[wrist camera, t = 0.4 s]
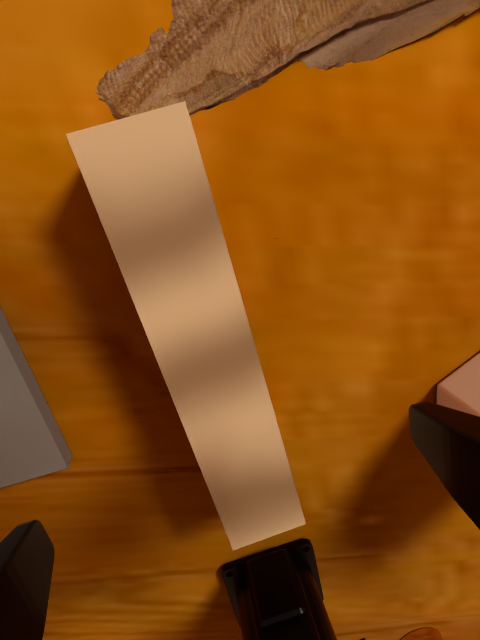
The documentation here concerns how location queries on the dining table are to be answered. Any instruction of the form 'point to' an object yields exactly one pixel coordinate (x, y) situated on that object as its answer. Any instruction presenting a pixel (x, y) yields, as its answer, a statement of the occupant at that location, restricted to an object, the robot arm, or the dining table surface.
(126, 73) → the fish fossil
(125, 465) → the dining table surface
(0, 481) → the fulcrum
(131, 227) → the beech bar
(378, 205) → the dining table surface
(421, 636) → the cup with straw
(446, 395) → the jar
